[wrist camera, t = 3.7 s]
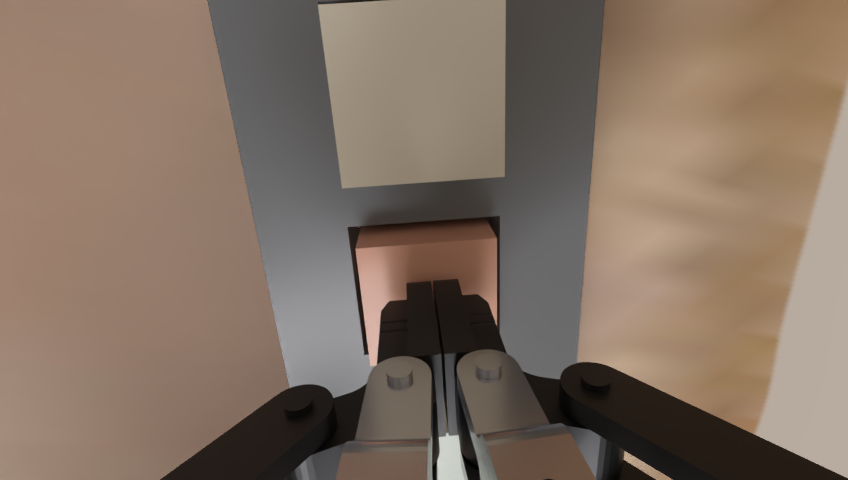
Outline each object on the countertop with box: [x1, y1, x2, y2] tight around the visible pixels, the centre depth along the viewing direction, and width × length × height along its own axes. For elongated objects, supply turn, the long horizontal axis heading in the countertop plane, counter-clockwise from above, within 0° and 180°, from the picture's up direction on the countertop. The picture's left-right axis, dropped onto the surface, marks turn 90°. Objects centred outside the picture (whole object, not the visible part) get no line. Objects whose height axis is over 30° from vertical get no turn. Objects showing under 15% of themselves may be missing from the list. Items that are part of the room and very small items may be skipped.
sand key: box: [318, 0, 506, 188], centre depth 12 cm, size 4×4×3 cm
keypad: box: [207, 0, 605, 398], centre depth 17 cm, size 24×10×2 cm, turn 4°
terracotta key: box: [355, 217, 497, 366], centre depth 15 cm, size 4×4×3 cm
